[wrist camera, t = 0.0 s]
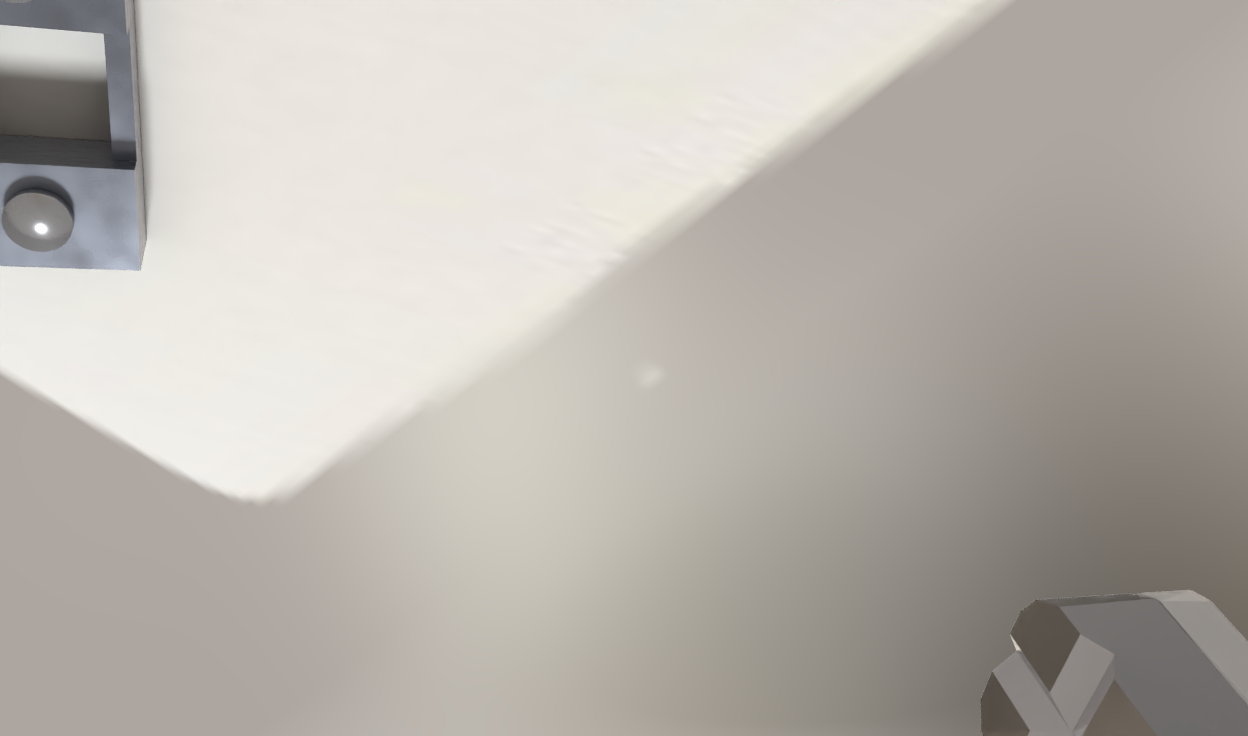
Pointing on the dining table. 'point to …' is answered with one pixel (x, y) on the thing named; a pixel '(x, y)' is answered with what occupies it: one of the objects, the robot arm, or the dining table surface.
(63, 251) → the slotted clamp bar
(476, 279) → the dining table surface
